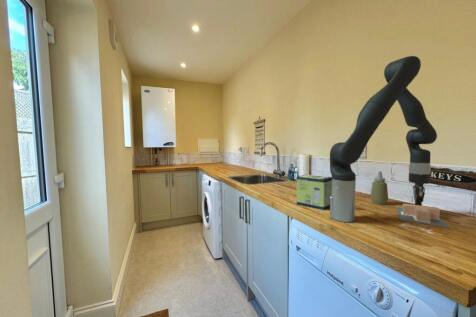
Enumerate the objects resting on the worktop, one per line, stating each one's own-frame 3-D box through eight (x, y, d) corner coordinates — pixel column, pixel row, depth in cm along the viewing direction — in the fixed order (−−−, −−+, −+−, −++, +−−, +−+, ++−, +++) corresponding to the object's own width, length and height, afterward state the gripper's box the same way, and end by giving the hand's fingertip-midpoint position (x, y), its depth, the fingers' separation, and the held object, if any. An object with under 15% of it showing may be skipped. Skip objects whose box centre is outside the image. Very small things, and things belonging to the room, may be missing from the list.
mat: (400, 221, 88) (400, 219, 88) (396, 207, 106) (396, 206, 106) (449, 228, 79) (449, 227, 79) (436, 212, 98) (436, 211, 98)
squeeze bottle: (373, 205, 110) (374, 172, 109) (367, 201, 118) (368, 170, 117) (390, 206, 108) (392, 172, 107) (384, 202, 116) (385, 170, 115)
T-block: (405, 218, 89) (405, 209, 89) (402, 211, 98) (402, 203, 98) (443, 224, 82) (444, 214, 82) (437, 216, 92) (437, 207, 91)
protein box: (305, 200, 121) (305, 174, 121) (332, 206, 110) (332, 177, 110) (295, 204, 114) (296, 176, 113) (324, 210, 103) (324, 179, 102)
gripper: (407, 170, 103) (406, 204, 104) (410, 173, 92) (409, 212, 93) (427, 171, 99) (426, 207, 100) (433, 174, 88) (431, 214, 89)
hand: (418, 209), depth 97 cm, fingers closed
